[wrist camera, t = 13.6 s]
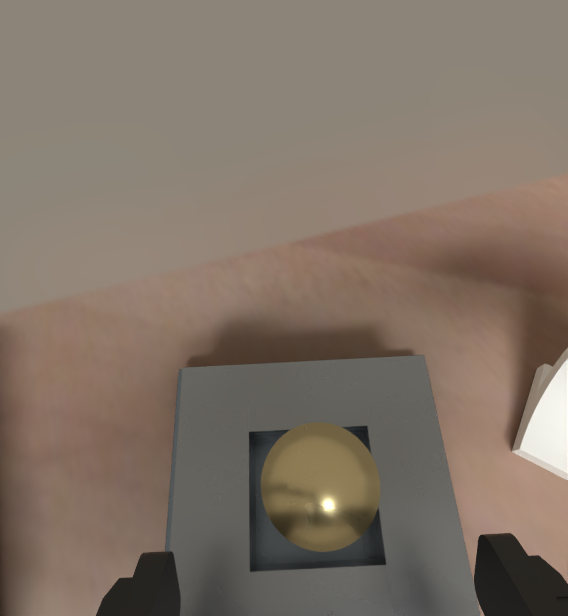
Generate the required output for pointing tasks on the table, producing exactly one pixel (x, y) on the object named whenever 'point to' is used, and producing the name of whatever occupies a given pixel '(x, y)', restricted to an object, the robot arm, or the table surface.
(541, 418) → the headphone stand
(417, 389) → the square hole socket
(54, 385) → the table surface
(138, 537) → the table surface
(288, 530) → the brass pin
